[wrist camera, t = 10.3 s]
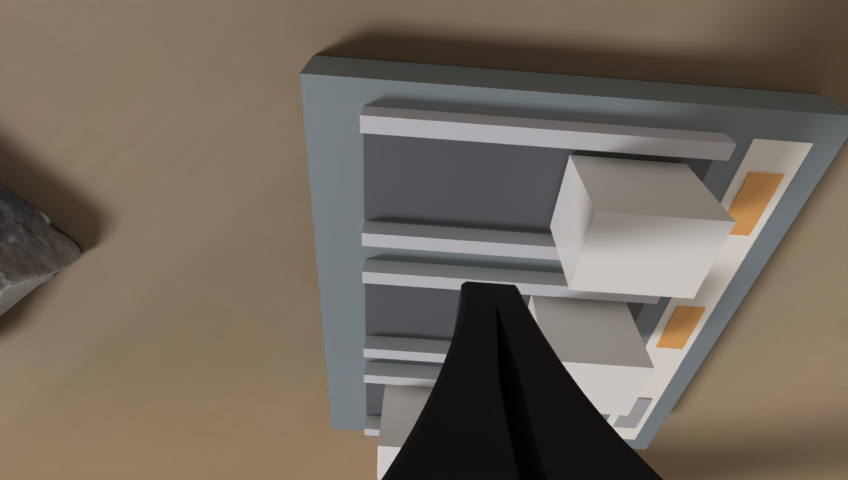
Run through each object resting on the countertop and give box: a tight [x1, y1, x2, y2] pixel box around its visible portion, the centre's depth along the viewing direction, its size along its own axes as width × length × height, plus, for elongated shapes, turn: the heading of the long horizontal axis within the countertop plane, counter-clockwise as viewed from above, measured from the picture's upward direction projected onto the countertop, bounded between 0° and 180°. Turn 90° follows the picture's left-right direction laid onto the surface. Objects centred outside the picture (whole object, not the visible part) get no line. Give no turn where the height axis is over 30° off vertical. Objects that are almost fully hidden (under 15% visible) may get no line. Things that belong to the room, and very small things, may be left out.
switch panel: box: [300, 55, 848, 450], centre depth 22 cm, size 20×18×3 cm
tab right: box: [550, 155, 736, 299], centre depth 16 cm, size 3×4×4 cm
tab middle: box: [528, 295, 654, 416], centre depth 20 cm, size 3×4×4 cm
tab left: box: [377, 384, 433, 480], centre depth 23 cm, size 3×4×4 cm
